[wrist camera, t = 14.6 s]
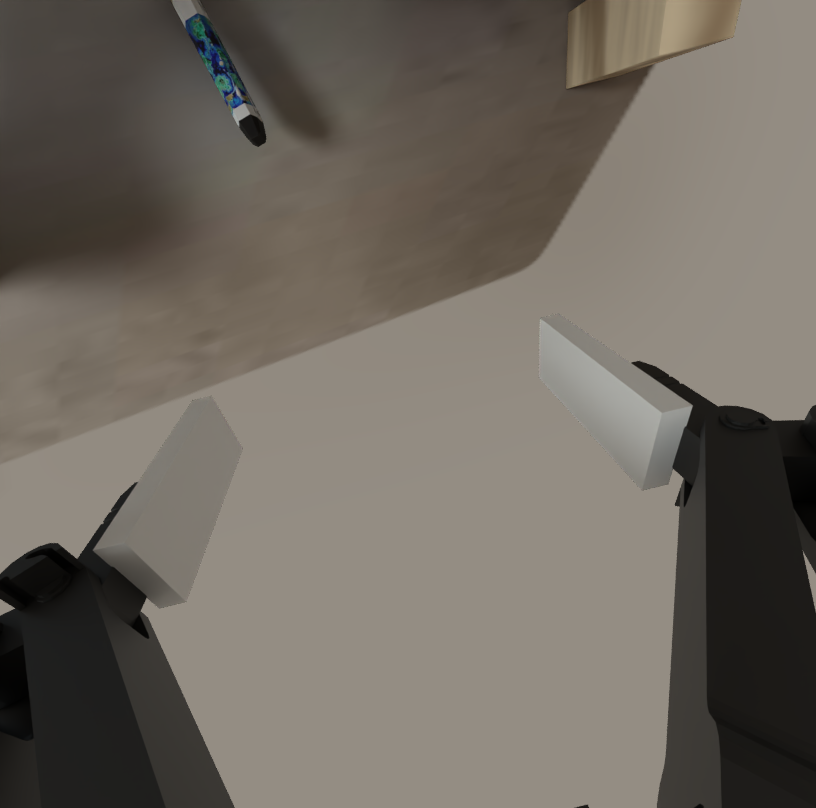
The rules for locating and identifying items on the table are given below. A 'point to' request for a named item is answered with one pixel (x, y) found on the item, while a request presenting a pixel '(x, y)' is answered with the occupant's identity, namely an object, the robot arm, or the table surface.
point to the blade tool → (641, 34)
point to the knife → (221, 69)
